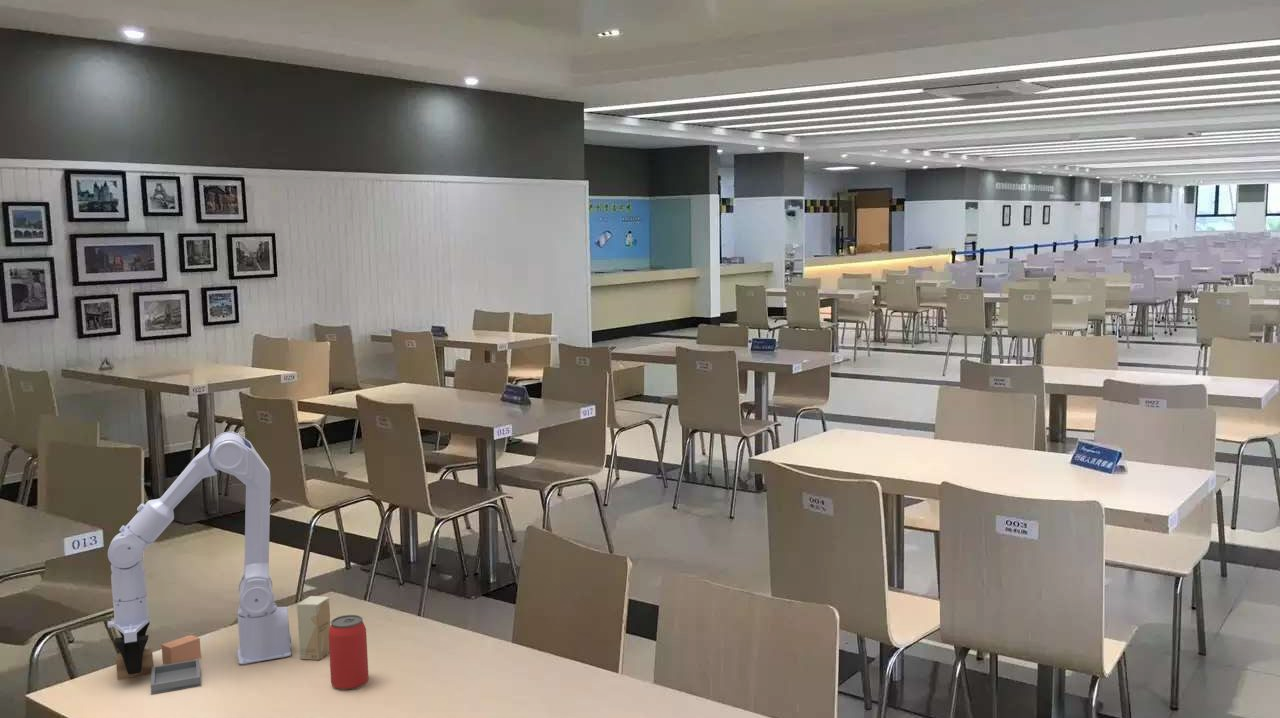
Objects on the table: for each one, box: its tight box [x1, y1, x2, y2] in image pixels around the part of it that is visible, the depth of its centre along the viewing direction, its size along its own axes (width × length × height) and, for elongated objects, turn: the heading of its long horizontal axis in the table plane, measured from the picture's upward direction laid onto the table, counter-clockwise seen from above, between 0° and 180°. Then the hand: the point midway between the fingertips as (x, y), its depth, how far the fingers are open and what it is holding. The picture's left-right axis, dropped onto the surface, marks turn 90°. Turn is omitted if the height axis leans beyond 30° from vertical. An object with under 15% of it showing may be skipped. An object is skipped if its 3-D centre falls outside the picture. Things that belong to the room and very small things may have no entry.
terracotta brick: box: [161, 634, 202, 665], centre depth 201 cm, size 6×3×4 cm, turn 144°
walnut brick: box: [115, 647, 154, 681], centre depth 195 cm, size 6×3×4 cm, turn 114°
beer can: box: [328, 614, 370, 691], centre depth 188 cm, size 7×7×12 cm
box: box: [296, 595, 331, 661], centre depth 202 cm, size 5×4×11 cm
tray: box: [150, 658, 201, 695], centre depth 191 cm, size 8×9×2 cm
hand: (135, 666), depth 195 cm, fingers open, 6 cm apart
